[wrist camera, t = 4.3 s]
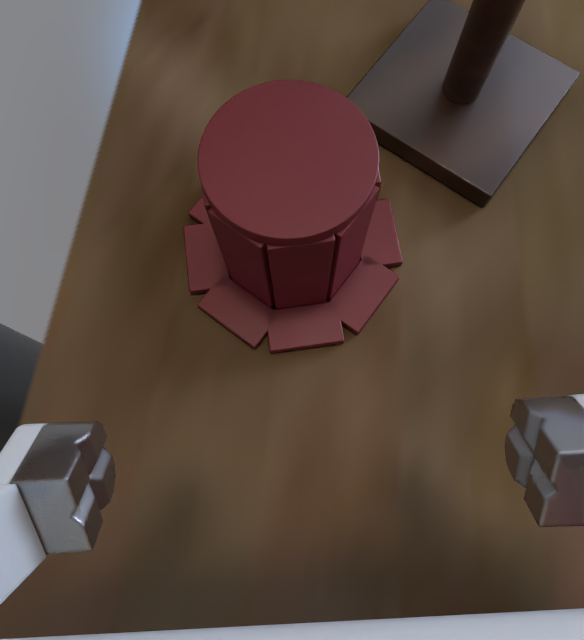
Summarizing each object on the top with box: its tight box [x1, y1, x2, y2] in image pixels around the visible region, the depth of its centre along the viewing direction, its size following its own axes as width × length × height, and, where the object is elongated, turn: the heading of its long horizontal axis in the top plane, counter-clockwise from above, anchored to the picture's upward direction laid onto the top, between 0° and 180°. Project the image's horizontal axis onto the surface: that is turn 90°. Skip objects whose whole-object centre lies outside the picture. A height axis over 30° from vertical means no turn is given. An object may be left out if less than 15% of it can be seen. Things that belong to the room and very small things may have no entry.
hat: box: [184, 80, 403, 353], centre depth 22 cm, size 10×10×8 cm
